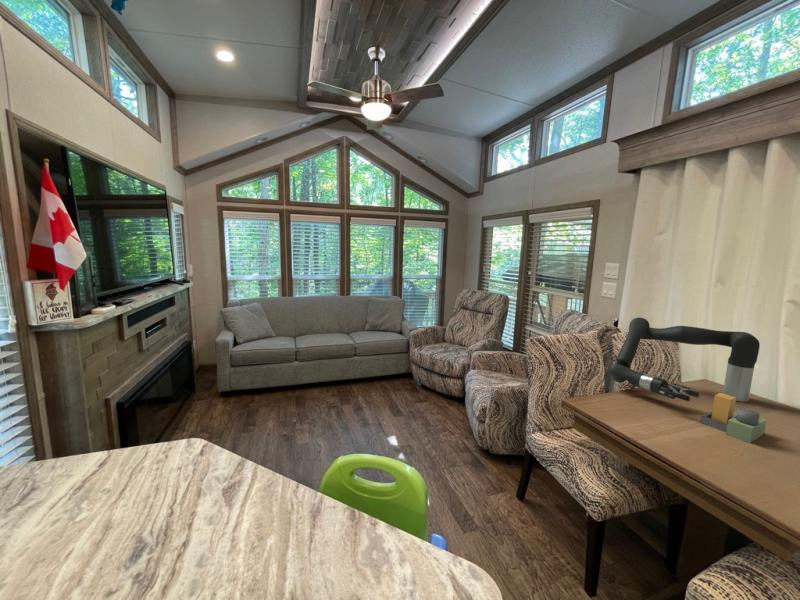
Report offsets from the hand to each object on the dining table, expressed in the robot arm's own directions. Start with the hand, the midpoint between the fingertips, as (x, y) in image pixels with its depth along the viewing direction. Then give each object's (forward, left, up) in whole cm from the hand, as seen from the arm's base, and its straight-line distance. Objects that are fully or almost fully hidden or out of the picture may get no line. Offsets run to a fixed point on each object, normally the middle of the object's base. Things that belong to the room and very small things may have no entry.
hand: (694, 397), depth 148 cm
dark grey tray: (+3, +9, -8) cm, 13 cm away
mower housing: (+6, +16, -8) cm, 19 cm away
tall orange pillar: (+3, +9, -9) cm, 13 cm away
